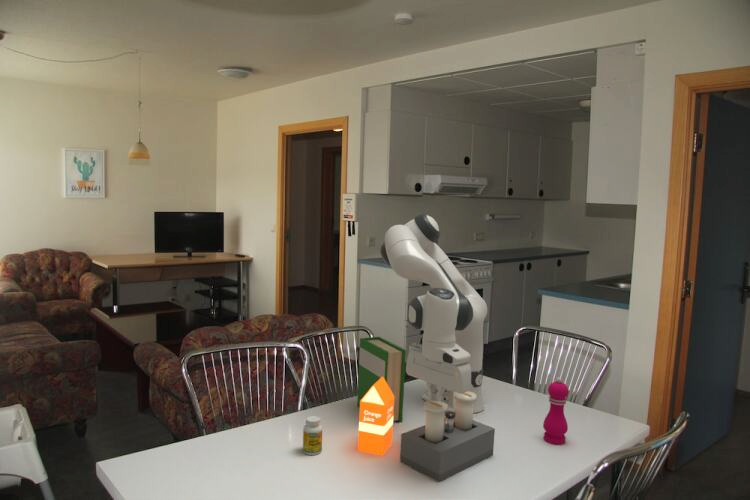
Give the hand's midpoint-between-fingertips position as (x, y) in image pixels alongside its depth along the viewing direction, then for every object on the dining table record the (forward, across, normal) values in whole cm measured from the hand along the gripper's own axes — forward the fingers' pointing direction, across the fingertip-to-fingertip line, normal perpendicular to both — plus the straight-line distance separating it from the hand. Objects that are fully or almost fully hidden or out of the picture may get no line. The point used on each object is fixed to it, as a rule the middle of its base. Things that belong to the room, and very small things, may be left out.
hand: (435, 399), depth 153 cm
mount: (+19, 0, +6) cm, 20 cm away
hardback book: (+19, -35, +13) cm, 42 cm away
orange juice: (+19, -18, -4) cm, 26 cm away
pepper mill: (+19, +13, +43) cm, 48 cm away
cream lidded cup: (+11, 0, +13) cm, 17 cm away
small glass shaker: (+11, 0, +6) cm, 12 cm away
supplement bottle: (+19, -27, -20) cm, 39 cm away
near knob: (+11, 0, 0) cm, 11 cm away
